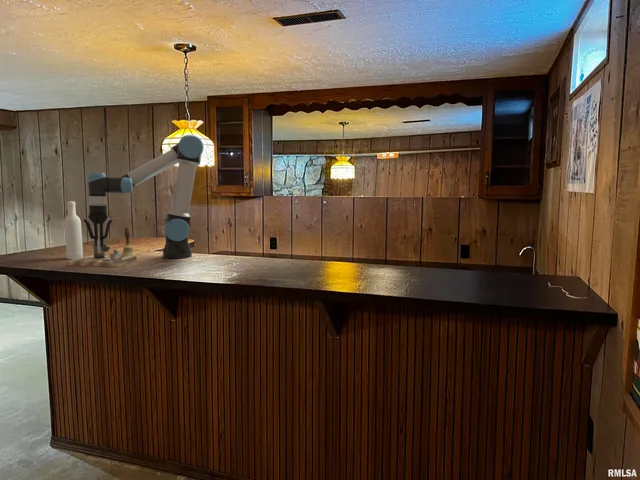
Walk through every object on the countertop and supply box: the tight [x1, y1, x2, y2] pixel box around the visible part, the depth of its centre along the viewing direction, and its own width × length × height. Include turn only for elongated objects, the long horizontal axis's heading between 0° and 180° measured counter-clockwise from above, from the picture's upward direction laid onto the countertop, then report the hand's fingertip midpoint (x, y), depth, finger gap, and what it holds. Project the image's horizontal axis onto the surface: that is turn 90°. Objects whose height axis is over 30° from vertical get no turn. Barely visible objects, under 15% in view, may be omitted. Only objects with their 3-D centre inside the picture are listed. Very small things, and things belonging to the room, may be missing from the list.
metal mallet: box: [92, 239, 110, 258], centre depth 225 cm, size 15×5×9 cm, turn 43°
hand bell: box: [121, 226, 138, 257], centre depth 245 cm, size 8×8×16 cm
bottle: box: [63, 200, 84, 260], centre depth 238 cm, size 8×8×30 cm
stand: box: [66, 249, 137, 268], centre depth 227 cm, size 26×18×8 cm
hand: (99, 252), depth 222 cm, fingers closed
